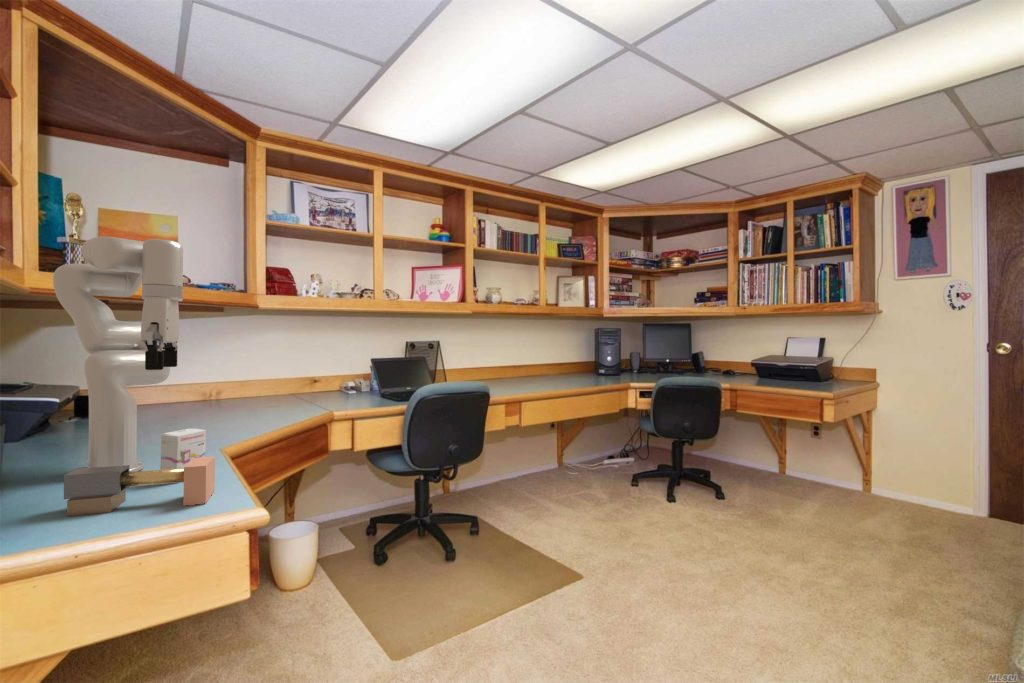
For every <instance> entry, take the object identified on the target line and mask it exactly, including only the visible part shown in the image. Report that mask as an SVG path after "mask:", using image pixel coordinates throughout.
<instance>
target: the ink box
mask: <svg viewBox="0 0 1024 683" xmlns="http://www.w3.org/2000/svg"><path fill="white" fill-rule="evenodd" d="M160 438H161V441H160V442H161V443H160V444H161V445H160V469H159V470H164V469H178V468H184V467H185V466H186V465H187V464H188V463H189V462H191V461H192V460H193V459H194V458H201V457H206V444H207V442H206V441H207V429H201V428H192V427H191V428H185V429H184V428H183V429H179V430H175V431H169V432H164V433H163V434H162V435H161V437H160Z"/></svg>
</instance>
